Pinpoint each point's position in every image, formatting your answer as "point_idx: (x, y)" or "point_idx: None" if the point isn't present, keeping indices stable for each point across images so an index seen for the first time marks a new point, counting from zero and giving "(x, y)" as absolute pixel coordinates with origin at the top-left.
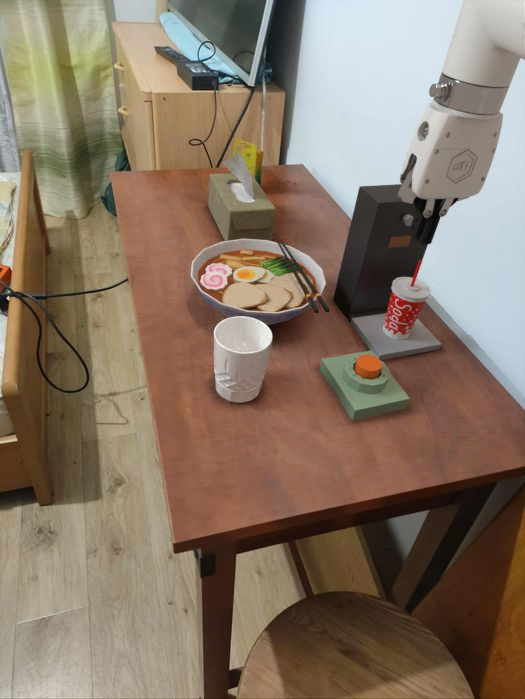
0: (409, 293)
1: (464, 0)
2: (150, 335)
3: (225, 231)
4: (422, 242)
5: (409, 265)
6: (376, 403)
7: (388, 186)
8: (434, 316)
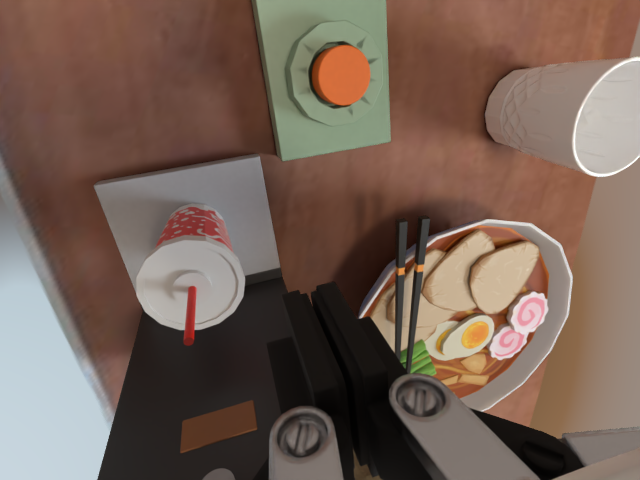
0: (207, 262)
1: None
2: (576, 227)
3: None
4: (335, 285)
5: (160, 379)
6: None
7: None
8: (71, 291)
